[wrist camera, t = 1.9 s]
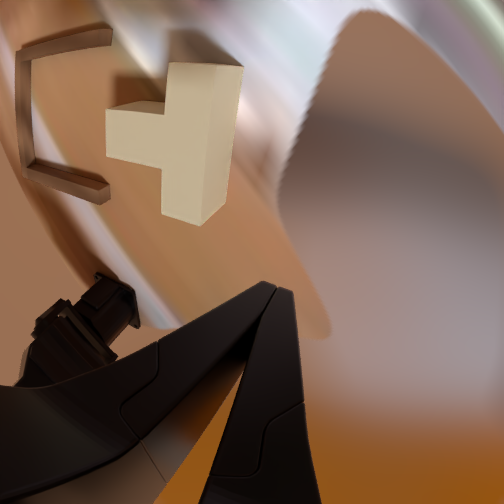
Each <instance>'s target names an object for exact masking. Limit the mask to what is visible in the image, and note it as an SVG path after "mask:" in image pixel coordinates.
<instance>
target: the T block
mask: <svg viewBox="0 0 504 504" xmlns="http://www.w3.org/2000/svg"><path fill="white" fill-rule="evenodd" d="M243 71H244V67H242V66H234V65H225V64H215V63H202V62H169V66H168V76H167V86H166V98H165V103H164V102H154V101H137V102H133V103H129V104H124V105H120V106H116V107H112V108H108V109H106V157H111V158H115V159H120V160H125V161H129V162H134V163H138V164H142V165H147V166H151V167H155V168H159V169H162V191H161V214H163V215H166V216H169V217H172V218H175V219H179V220H182V221H185V222H188V223H191V224H194V225H197V226H201V225H202V224H203V223H204V222H205V221H206V220H208V219H209V218H210V217H211V216H212V215H213V214H214V213H215V212H216V211H217V210H218V209H219V208H220V207H221V206H223V205H224V204H225V203H226V195H227V187H228V179H229V171H230V163H231V155H232V148H233V140H234V133H235V125H236V118H237V111H238V104H239V97H240V91H241V84H242V77H243Z"/></svg>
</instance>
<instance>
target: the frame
mask: <svg viewBox="0 0 504 504" xmlns="http://www.w3.org/2000/svg"><path fill="white" fill-rule="evenodd" d="M112 31H113V29H96V30H91V31H86V32H82V33H77V34H73V35H69V36H65V37H61V38H57V39H53V40H50V41H46V42H43V43H40V44H36V45H33V46H30V47H27V48H24V49H21V50H19V51H16V57H15V110H16V126H17V137H18V147H19V155H20V163H21V169H22V176H23V177H24V178H26V179H29V180H32V181H35V182H37V183H40V184H43V185H45V186H48V187H51V188H54V189H56V190H59V191H62V192H65V193H67V194H70V195H73V196H75V197H78V198H81V199H84V200H86V201H89V202H92V203H95V204H97V205H101V204H103V203H105V202H106V201H108V200H110V199H111V198H110V185H108V184H105V183H102V182H98V181H95V180H92V179H88V178H85V177H81V176H78V175H75V174H71V173H68V172H64V171H61V170H57V169H54V168H50V167H47V166H43V165H40V164H36V163H35V154H34V145H33V134H32V119H31V60H32V59H36V58H41V57H45V56H49V55H54V54H59V53H64V52H69V51H75V50H81V49H87V48H94V47H101V46H110V45H111V40H112Z"/></svg>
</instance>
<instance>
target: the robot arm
mask: <svg viewBox="0 0 504 504" xmlns="http://www.w3.org/2000/svg"><path fill="white" fill-rule="evenodd" d="M94 279H95V284H94V285H93V286H92V287H91V288H90V289H89V290H87V291H86V292H85V293H84V294H83V295H82V296H81V299H80V300H79V301H78V302H77V303H76V304H75V305H74V306H73V305H72V304H71V302H70V300H69V299H68V300H66V301H65V300H63V299H61V298H60V299H59V300H58V301H57V302H56V303H55V304H54V305H53V306H51V307H50V308H49V309H48V310H47V311H45V312H44V313H43V314H42V315H41V316H40V317H38V318H37V319H36V321H35V328H34V331H33V332H32V333H31V336H32V337H33V338H34V339H35V340H34V341H33V342H32V343H31V344H30V345H29V346H28V347H27V349H26V350H25V351H24V352H23V355H22V360H21V366H20V372H19V379H18V380H17V381H16V382H15V383H14V385H13V386H3V385H0V504H153V502H154V501H155V500H156V498H157V497H158V496H159V494H160V493H161V492H162V490H163V489H164V487H165V486H166V485H167V484H166V483H168V482H169V481H170V479H171V478H172V476H173V475H174V474H175V472H176V471H177V469H178V468H179V467H180V465H181V464H182V462H183V461H184V459H185V458H186V457H187V455H188V454H189V452H190V451H191V450H192V448H193V447H194V445H195V444H196V442H197V441H198V439H199V438H200V436H201V435H202V433H203V432H204V431H205V429H206V428H207V426H208V425H209V423H210V422H211V420H212V418H213V417H214V415H215V414H216V413H217V411H218V409H219V408H220V406H221V405H222V403H223V402H224V400H225V399H226V397H227V396H228V394H229V393H230V391H231V389H232V388H233V386H234V385H235V383H236V382H237V380H238V378H239V377H240V375H241V374H242V372H243V374H242V378H241V381H240V384H239V387H238V390H237V393H236V396H235V399H234V402H233V405H232V408H231V411H230V414H229V418H228V420H227V423H226V426H225V429H224V432H223V435H222V438H221V441H220V444H219V447H218V450H217V453H216V456H215V458H214V461H213V464H212V467H211V470H210V473H209V477H208V478H207V481H206V484H205V487H204V490H203V492H202V495H201V497H200V500H199V503H198V504H322V503H321V498H320V494H319V489H318V484H317V480H316V476H315V471H314V466H313V461H312V457H311V451H310V445H309V440H308V431H307V423H306V412H305V404H304V403H303V402H304V390H303V379H302V369H301V358H300V349H299V339H298V329H297V320H296V311H295V302H294V294H293V292H292V291H291V290H288V289H285V288H282V287H278V288H277V286H276V285H274V284H271V283H268V282H266V281H261V282H259V283H257V284H256V285H254V286H252V287H250V288H249V289H247V290H245V291H244V292H242V293H240V294H238V295H237V296H235V297H233V298H232V299H230V300H228V301H226V302H225V303H223V304H221V305H219V306H218V307H216V308H214V309H212V310H211V311H209V312H207V313H205V314H204V315H202V316H200V317H198V318H197V319H195V320H193V321H191V322H189V323H188V324H186V325H184V326H182V327H181V328H179V329H177V330H175V331H173V332H172V333H170V334H168V335H166V336H164V337H163V338H161V339H159V340H158V342H157V341H155V342H153V343H151V344H150V345H148V346H146V347H144V348H142V349H140V350H139V351H136V352H134V353H132V354H130V355H128V356H126V357H124V358H122V359H120V360H117V361H115V360H116V359H117V357H118V355H117V354H116V353H114V352H113V351H112V350H111V349H110V348H109V346H110V345H111V343H112V342H113V341H114V340H115V339H116V338H117V337H118V335H119V334H120V333H121V332H122V331H123V330H124V329H125V328H126V327H127V325H128V324H129V325H131V326H132V327H134V328H136V329H139V327H141V325H140V319H139V313H138V307H137V301H136V294H135V292H134V291H133V290H131V289H129V288H127V287H125V286H123V285H121V284H119V283H117V282H115V281H113V280H111V279H109V278H108V277H106V276H104V275H102V274H100V273H98V272H96V273H95V274H94ZM58 315H59V317H58Z"/></svg>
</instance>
